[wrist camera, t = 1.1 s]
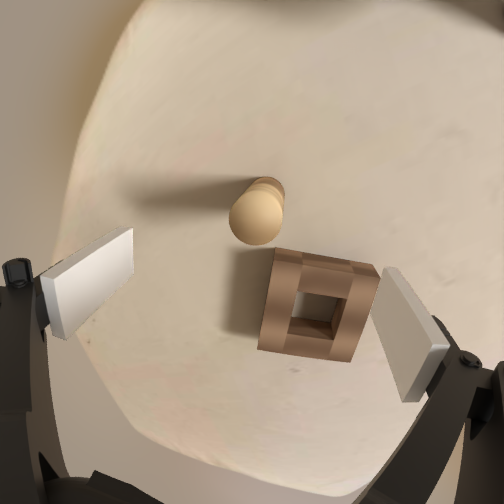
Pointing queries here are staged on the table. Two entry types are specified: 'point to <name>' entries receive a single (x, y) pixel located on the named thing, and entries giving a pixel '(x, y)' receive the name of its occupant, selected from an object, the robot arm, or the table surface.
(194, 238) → the table surface
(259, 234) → the oak peg
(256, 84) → the table surface
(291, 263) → the walnut socket
